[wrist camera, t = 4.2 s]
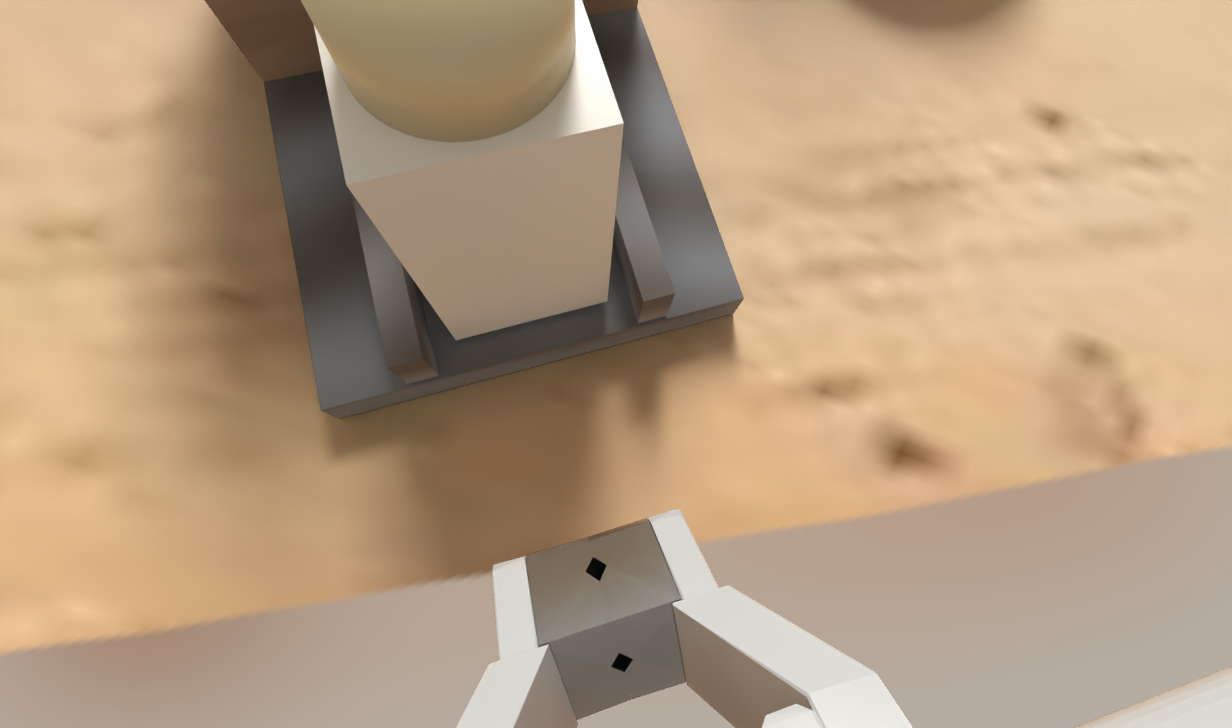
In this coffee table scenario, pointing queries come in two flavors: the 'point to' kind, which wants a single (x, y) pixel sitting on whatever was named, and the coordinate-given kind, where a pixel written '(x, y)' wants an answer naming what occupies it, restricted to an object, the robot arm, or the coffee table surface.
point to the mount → (383, 289)
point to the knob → (479, 149)
